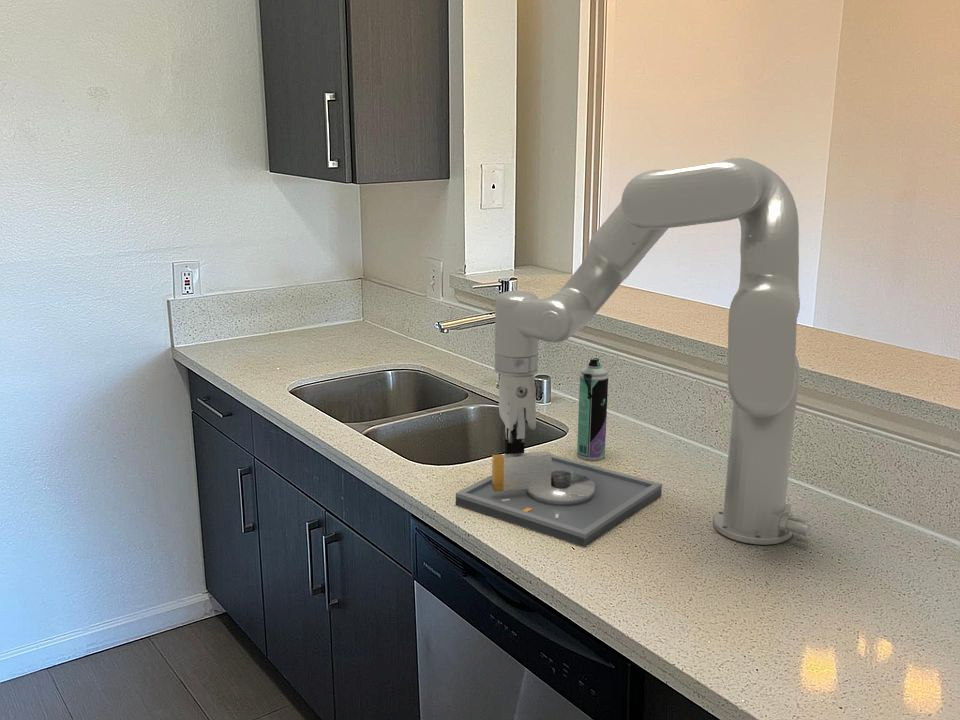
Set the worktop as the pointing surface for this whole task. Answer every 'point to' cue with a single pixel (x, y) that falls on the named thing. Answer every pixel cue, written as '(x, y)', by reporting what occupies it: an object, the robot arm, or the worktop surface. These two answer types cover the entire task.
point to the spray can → (592, 411)
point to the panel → (568, 523)
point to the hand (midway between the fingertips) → (514, 461)
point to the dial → (540, 479)
